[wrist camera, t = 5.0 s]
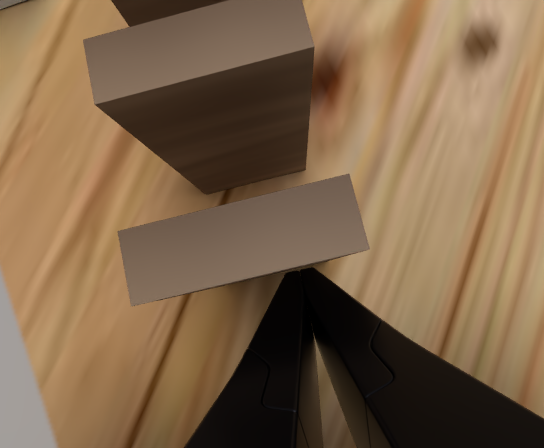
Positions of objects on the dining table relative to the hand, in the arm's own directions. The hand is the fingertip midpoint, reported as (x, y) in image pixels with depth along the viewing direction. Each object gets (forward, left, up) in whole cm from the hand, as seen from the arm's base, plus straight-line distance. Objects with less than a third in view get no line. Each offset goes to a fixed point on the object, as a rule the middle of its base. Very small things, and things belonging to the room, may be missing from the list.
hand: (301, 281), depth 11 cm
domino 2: (-1, +1, -7) cm, 7 cm away
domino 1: (+1, +6, -7) cm, 9 cm away
